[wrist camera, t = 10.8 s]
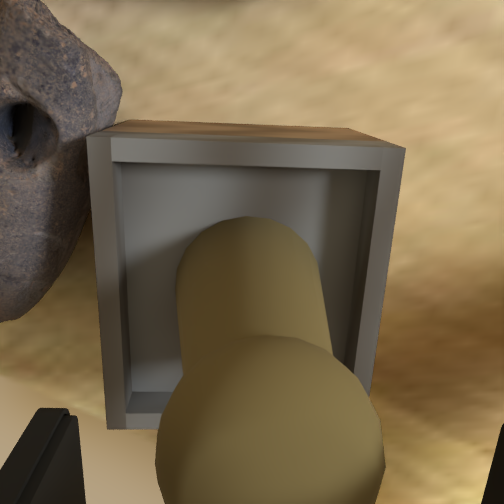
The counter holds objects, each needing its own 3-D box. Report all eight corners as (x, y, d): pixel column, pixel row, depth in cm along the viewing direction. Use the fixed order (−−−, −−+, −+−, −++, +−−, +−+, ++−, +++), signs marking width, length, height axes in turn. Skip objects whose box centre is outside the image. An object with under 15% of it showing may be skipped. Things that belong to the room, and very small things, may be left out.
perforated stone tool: (70, 308, 27) (21, 380, 20) (-26, 278, 26) (-109, 344, 19) (153, 40, 23) (125, 23, 16) (42, -7, 22) (-36, -47, 15)
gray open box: (348, 128, 24) (405, 148, 17) (326, 335, 28) (364, 428, 21) (130, 119, 24) (86, 136, 16) (139, 333, 28) (107, 429, 20)
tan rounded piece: (160, 332, 20) (95, 595, 10) (195, 198, 18) (161, 348, 8) (294, 362, 21) (364, 632, 11) (340, 238, 19) (479, 418, 9)
